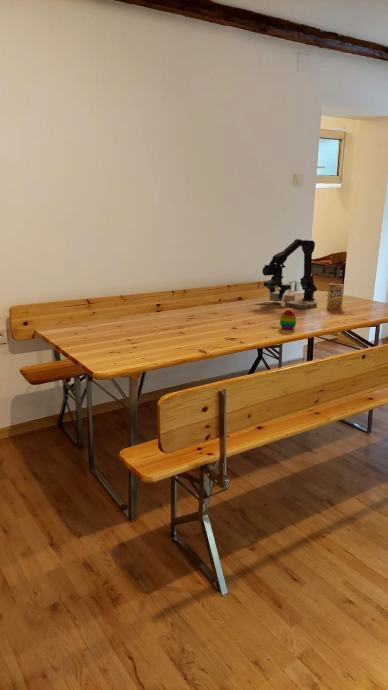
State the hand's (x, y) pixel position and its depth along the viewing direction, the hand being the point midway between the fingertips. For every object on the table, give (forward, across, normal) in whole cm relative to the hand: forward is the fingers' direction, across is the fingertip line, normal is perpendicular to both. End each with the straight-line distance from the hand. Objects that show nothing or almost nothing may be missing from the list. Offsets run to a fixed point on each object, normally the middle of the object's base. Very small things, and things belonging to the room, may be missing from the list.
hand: (276, 298), depth 330 cm
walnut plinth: (+3, +17, +4) cm, 18 cm away
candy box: (+3, +33, +17) cm, 37 cm away
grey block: (+1, 0, 0) cm, 1 cm away
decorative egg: (+3, +50, -47) cm, 69 cm away
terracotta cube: (+3, 0, +13) cm, 13 cm away
